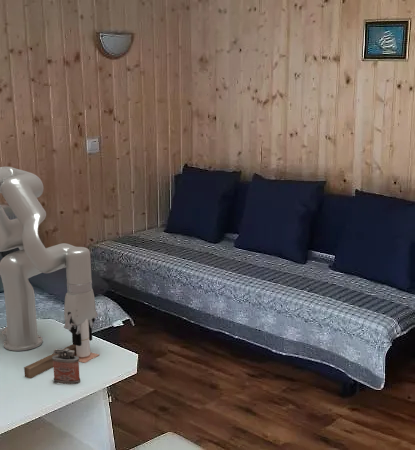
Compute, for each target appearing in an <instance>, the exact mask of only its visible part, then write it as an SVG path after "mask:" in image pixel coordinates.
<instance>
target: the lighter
mask: <svg viewBox="0 0 415 450" xmlns="http://www.w3.org/2000/svg"><path fill="white" fill-rule="evenodd" d="M65 348H66V347H65ZM63 349H64V348H55V349H54V350H53V353H54V354H59V355H55V356H53V357H52V360H53V368H52V369H53V383H55V384H62V385H78V384H80V383H81V378H80V364H79V363H80V362H79V357H77V356H74V354H75V351H74V350H69V349H68V348H66V349H65V350H63ZM61 354H62V355H61Z"/></svg>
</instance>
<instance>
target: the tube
mask: <svg viewBox="0 0 415 450" xmlns="http://www.w3.org/2000/svg"><path fill="white" fill-rule="evenodd" d="M74 328H75V329H76V326H75V327H74ZM79 333H80V334H81V346H77V345H76V355H77V356H78V357H87V356H89V355H90V352H91V348H90V347H91V346H90V345H91V343H90V340H89V323H88V320H87V319H86V320H85V322H84V323H82V324H80V331H79Z"/></svg>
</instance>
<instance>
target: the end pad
mask: <svg viewBox="0 0 415 450" xmlns="http://www.w3.org/2000/svg"><path fill="white" fill-rule="evenodd" d="M76 356H77V355H76ZM99 356H100V354H99V353H95V352H91V351H90V355H89V356H87V357H79V363H84V364H86V363H88V362H90V361H91V360H93V359H95V358H97V357H99ZM77 357H78V356H77Z"/></svg>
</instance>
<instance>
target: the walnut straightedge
mask: <svg viewBox="0 0 415 450" xmlns="http://www.w3.org/2000/svg"><path fill="white" fill-rule="evenodd" d="M66 348H68V349H69V350H74V351H75V354H74V356H76V345H74V344H73V343H72V344H70V345H68V346H65V347H64V348H62V349H63V350H65V349H66ZM55 355H59V354H54V352H53V353H51V354H49V355H47V356H45V357H43V358H41V359H38V360H36V361H35V362H31V363H30V364H28V365H26V366H24V367H23V370H24V377H25V378H27V379H33V378H35V377H36V376H38V375H40V374H43V373H44V372H47V371H48V370H50V369H54V368H53V360H52V357H53V356H55ZM61 355H62V354H61Z"/></svg>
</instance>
